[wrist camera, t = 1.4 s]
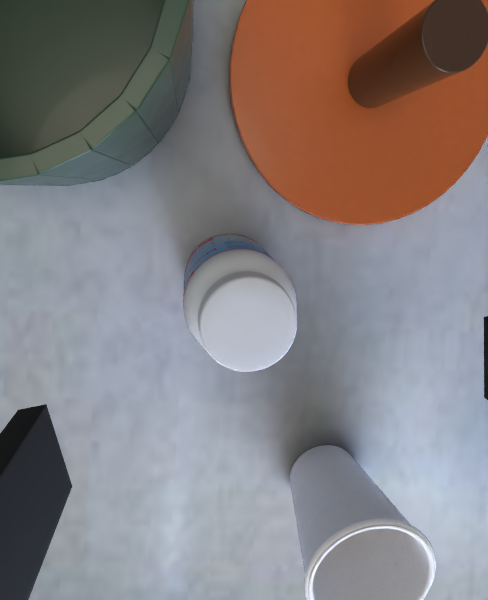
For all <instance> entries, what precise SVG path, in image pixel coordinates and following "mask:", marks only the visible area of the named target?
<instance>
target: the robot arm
mask: <svg viewBox="0 0 488 600" xmlns="http://www.w3.org/2000/svg"><path fill="white" fill-rule="evenodd" d="M484 398H486V399H487V400H488V316H487V317H484ZM71 488H72V484H71V481H70V478H69V475H68V472H67V469H66V465H65V462H64V459H63V456H62V453H61V450H60V446H59V443H58V440H57V437H56V434H55V431H54V427H53V424H52V421H51V418H50V415H49V412H48V409H47V405H41V406H36V407H31V408H26V409H21V410H18V411H17V412H16V414H15V415H14V416H13V418H12V419H11V420H10V422H9V423H8V424H7V426H6V427H5V428H4V430H3V431H2V432H1V433H0V600H28V599H29V597H30V594H31V591H32V589H33V586H34V584H35V581H36V578H37V576H38V573H39V571H40V568H41V565H42V563H43V560H44V558H45V555H46V553H47V550H48V547H49V545H50V542H51V540H52V537H53V534H54V532H55V529H56V527H57V524H58V522H59V519H60V516H61V514H62V511H63V509H64V506H65V503H66V501H67V498H68V496H69V493H70V490H71Z"/></svg>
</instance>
